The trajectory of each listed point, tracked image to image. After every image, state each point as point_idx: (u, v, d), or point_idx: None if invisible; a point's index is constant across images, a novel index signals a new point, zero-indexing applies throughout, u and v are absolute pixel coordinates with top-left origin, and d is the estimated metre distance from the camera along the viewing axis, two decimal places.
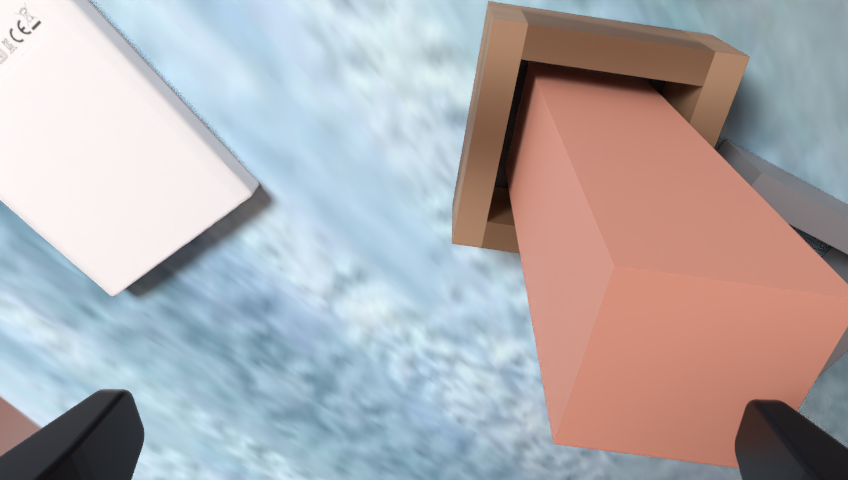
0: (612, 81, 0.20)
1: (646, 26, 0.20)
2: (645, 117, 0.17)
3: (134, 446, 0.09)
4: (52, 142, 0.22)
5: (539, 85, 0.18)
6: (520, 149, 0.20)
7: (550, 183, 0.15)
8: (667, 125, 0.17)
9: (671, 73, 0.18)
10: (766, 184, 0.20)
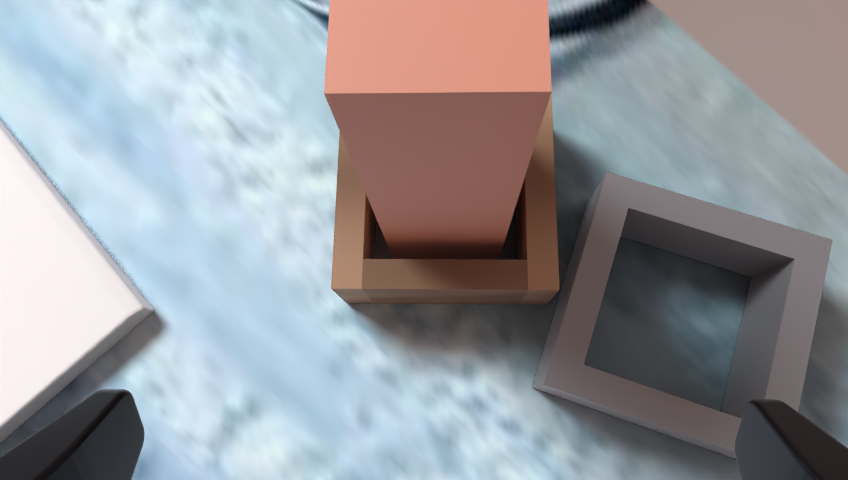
0: None
1: None
2: None
3: (134, 446, 0.09)
4: None
5: None
6: None
7: None
8: None
9: None
10: (615, 181, 0.21)
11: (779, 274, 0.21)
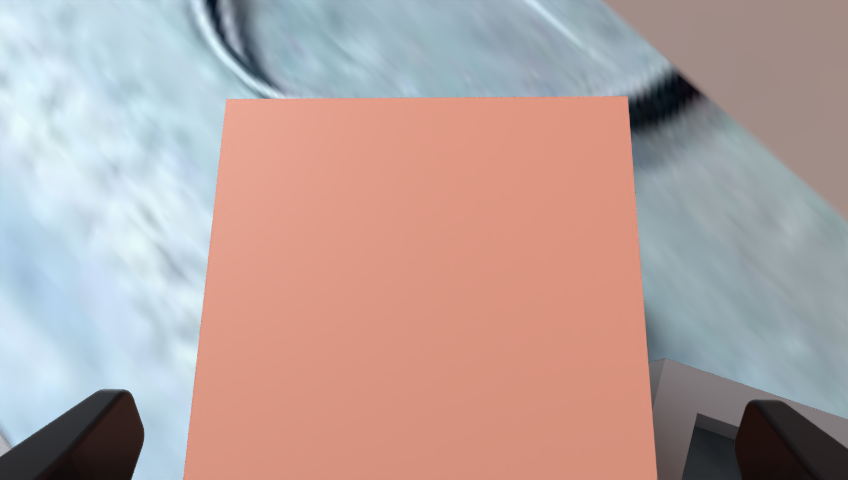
0: None
1: None
2: None
3: (134, 446, 0.09)
4: None
5: None
6: None
7: None
8: None
9: None
10: (678, 372, 0.15)
11: None
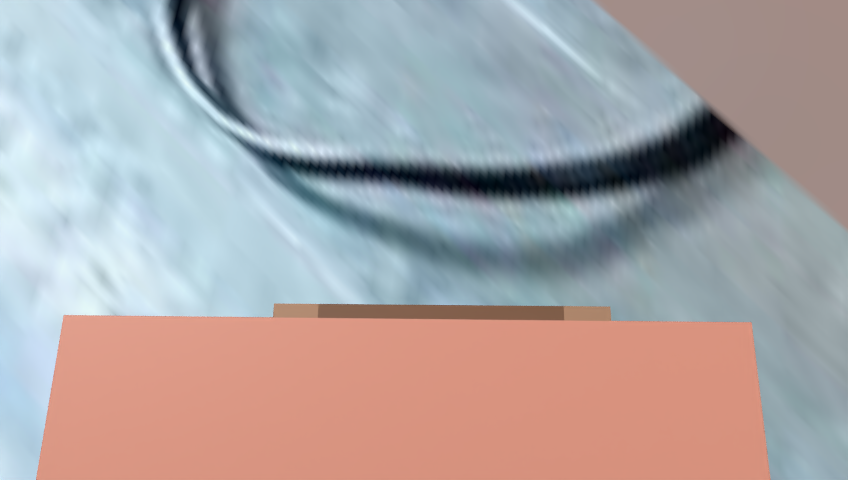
0: None
1: None
2: None
3: None
4: None
5: None
6: None
7: None
8: None
9: None
10: None
11: None
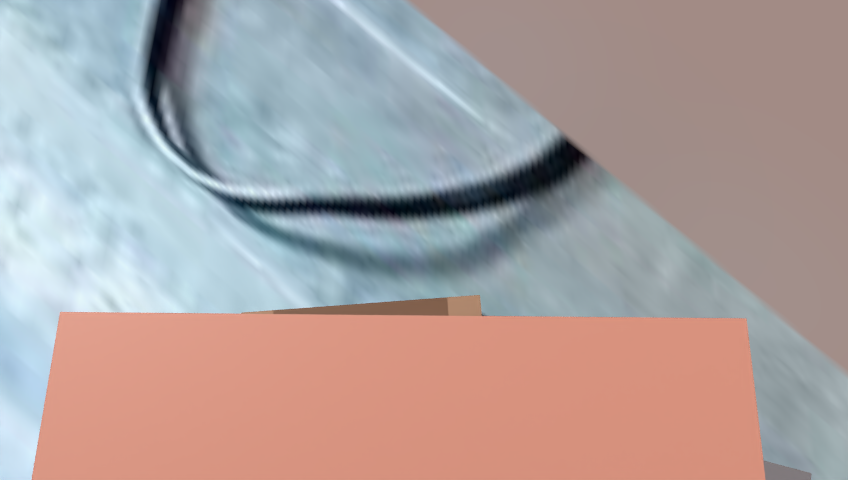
0: None
1: None
2: None
3: None
4: None
5: None
6: None
7: None
8: None
9: None
10: None
11: None
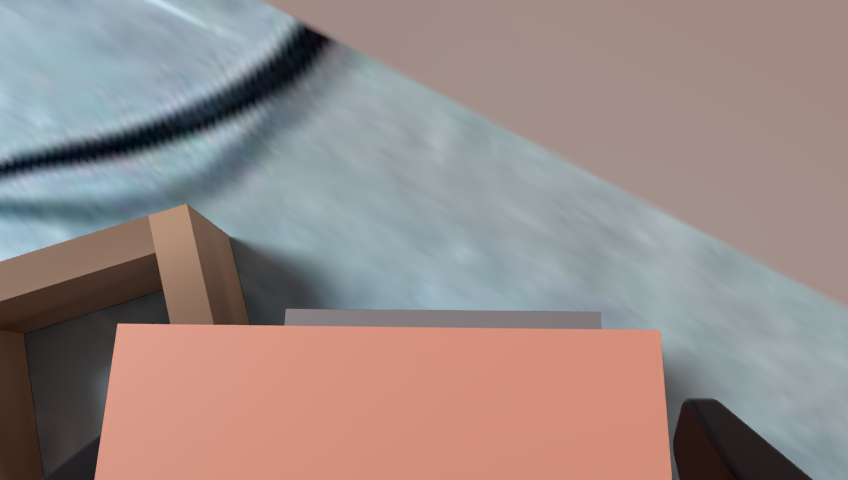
0: None
1: None
2: None
3: None
4: None
5: None
6: None
7: None
8: None
9: (114, 256, 0.15)
10: (300, 318, 0.15)
11: None
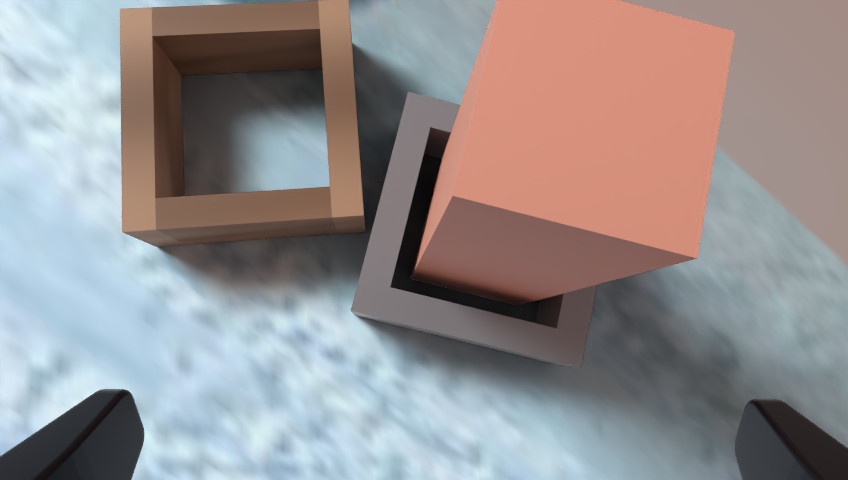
0: None
1: None
2: None
3: (134, 446, 0.09)
4: None
5: (445, 152, 0.20)
6: (426, 221, 0.21)
7: (453, 138, 0.16)
8: None
9: (288, 24, 0.21)
10: (417, 101, 0.20)
11: None
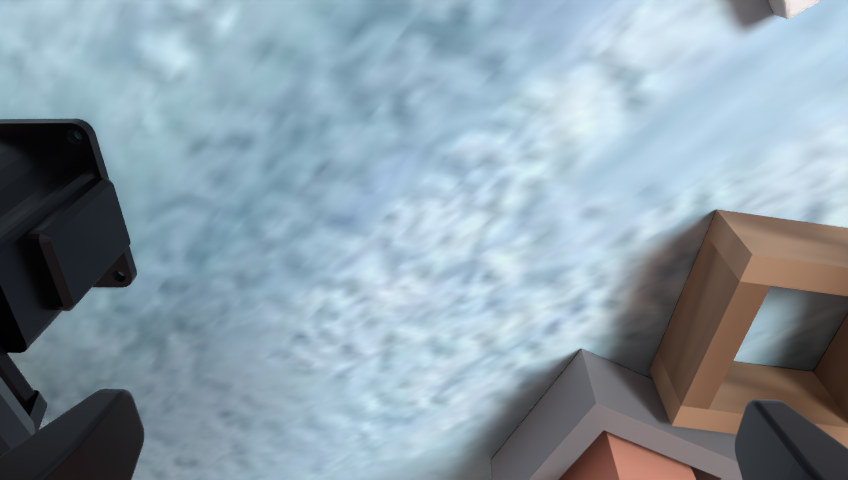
0: None
1: None
2: None
3: (134, 446, 0.09)
4: None
5: (695, 479, 0.24)
6: (643, 447, 0.24)
7: None
8: None
9: None
10: None
11: None
